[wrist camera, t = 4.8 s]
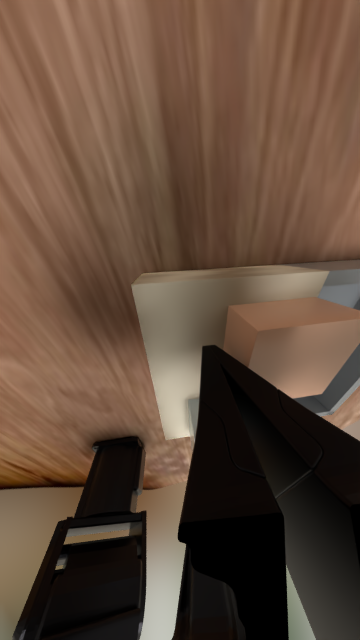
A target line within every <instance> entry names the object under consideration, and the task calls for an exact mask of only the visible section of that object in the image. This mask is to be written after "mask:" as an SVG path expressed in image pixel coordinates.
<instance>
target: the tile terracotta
mask: <svg viewBox="0 0 360 640" xmlns="http://www.w3.org/2000/svg"><path fill="white" fill-rule="evenodd" d="M359 343H360V310H356V309H353V308H350V307H346V306H343V305H340V304H337V303H333V302H330V301H327V300H324V299H320V298H317V297H308V298H298V299H289V300H279V301H269V302H260V303H250V304H240V305H231V306H228V314H227V322H226V331H225V339H224V347H223V350H224V351H225V352H227V353H228V354H229V355H231V356H232V357H234V358H235V359H237V360H238V361H239V362H241V363H242V364H244V365H245V366H247V367H248V368H249V369H251V370H252V371H254V372H255V373H257V374H258V375H259V376H261V377H262V378H264V379H265V380H267V381H268V382H269V383H271V384H272V385H274V386H275V387H276V388H277V389H280V390H281V391H282V392H284V393H285V394H287V395H288V396H290V397H291V398H299V397H306V396H312V395H318V394H322V393H323V392H324V390H325V389H326V388H327V386H328V385H329V384H330V382H331V381H332V380H333V378H334V377H335V376H336V374H337V373H338V372H339V370H340V369H341V368H342V366H343V365H344V363H345V362H346V361H347V359H348V358H349V357H350V355H351V354H352V353H353V351H354V350H355V349H356V347H357V346H358V345H359Z"/></svg>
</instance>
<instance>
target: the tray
mask: <svg viewBox="0 0 360 640" xmlns="http://www.w3.org/2000/svg"><path fill="white" fill-rule="evenodd" d="M281 265H284V266H293V267H301V268H309V269H318V270H326V271H330V272H329V274H328V276H327V278H326V280H325V282H324V284H323V286H322V289H321V291H320V293H319V295H318V297H317V298H320V299H324V300H327V301H330V302H333V303H337V304H340V305H343V306H346V307H350V308H353V309H356V310H360V259H358V260H343V261H327V262H312V263H296V264H281ZM359 385H360V343H359V345H358V346H357V347H356V349H355V350H354V351H353V353H352V354H351V355H350V357H349V358H348V359H347V361H346V362H345V363H344V365H343V366H342V368H341V369H340V370H339V372H338V373H337V374H336V376H335V377H334V378H333V380H332V381H331V382H330V384H329V385H328V386H327V388H326V389H325V390H324V392H323V393H322V394H318V395H312V396H306V397H299V398H293V399H294V400H296V401H297V402H298V403H300V404H301V405H303V406H304V407H306V408H307V409H309V410H311V411H312V412H314V413H315V414H317V415H319V416H325V415H331V414H333V413H334V412H335V411H336V410H337V409H338V408H339V407H340V406H341V405H342V403H343V402H344V401H345V400H346V399H347V398H348V397H349V396H350V395H351V394H352V393H353V392H354V391H355V390H356V389H357V387H358V386H359Z"/></svg>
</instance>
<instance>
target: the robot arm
mask: <svg viewBox="0 0 360 640" xmlns="http://www.w3.org/2000/svg"><path fill="white" fill-rule="evenodd" d="M92 449H93V450H94V452H95V453H96V454H95V457H94V460H93V463H92V466H91V469H90V472H89V475H88V478H87V480H86V483H85V486H84V489H83V492H82V495H81V498H80V501H79V504H78V507H77V510H76V513H75V516H74V518H73V517H67V519H66V520H63V521H59V522H58V524H57V526H56V529H55V531H54V534H53V536H52V539H51V541H50V544H49V547H48V549H47V552H46V554H45V557H44V559H43V562H42V564H41V567H40V569H39V571H38V574H37V576H36V579H35V581H34V584H33V586H32V589H31V591H30V594H29V596H28V599H27V601H26V604H25V606H24V609H23V612H22V614H21V617H20V619H19V621H18V624H17V626H16V629H15V631H14V634H13V640H139V639H140V635H141V631H142V625H143V618H144V609H145V599H146V598H145V597H146V511H141V512H139V513H136V505H137V496H138V495H140V494H141V493H142V487H143V477H144V466H145V455H146V453H145V451H144V449H143V447H142V445H141V443H140V441H139V438H137V437H133V438H127V439H120V440H113V441H107V442H100V443H94V444H93V446H92ZM127 529H130V531H129V536H125V537H118V538H110V539H103V540H95V541H88V542H81V543H73V544H66V545H63V544H64V541H65V538H66V537H69V536H77V535H86V534H93V533H101V532H111V531H119V530H127ZM178 540H179V541H180V542H182V543H185V544H186V550H185V558H184V565H183V572H182V580H181V588H180V595H179V603H178V610H177V618H176V626H175V631H174V636H173V638H172V640H289V639H288V638H289V637H288V609H287V583H286V565H287V568H288V570H289V573H290V575H291V578H292V580H293V583H294V585H295V588H296V590H297V593H298V595H299V598H300V600H301V603H302V605H303V608H304V610H305V613H306V615H307V618H308V621H309V623H310V626H311V628H312V630H313V633H314V635H315V638H316V640H360V441H359V440H357V439H355V438H354V437H352V436H351V435H349V434H347V433H346V432H344V431H343V430H341V429H339V428H338V427H336V426H335V425H333V424H331V423H330V422H328V421H326V420H325V419H323V418H322V417H320V416H319V415H317V414H315V413H314V412H312V411H311V410H309V409H307V408H306V407H304V406H303V405H301V404H300V403H298V402H297V401H296V400H294V399H293V398H291V397H290V396H288V395H287V394H285V393H284V392H282V391H281V390H280V389H277V388H276V387H275V386H274V385H272V384H271V383H269V382H268V381H267V380H265V379H264V378H262V377H261V376H259V375H258V374H257V373H255V372H254V371H252V370H251V369H249V368H248V367H247V366H245V365H244V364H242V363H241V362H239V361H238V360H237V359H235V358H234V357H232V356H231V355H229V354H228V353H227V352H225V351H224V350H222V349H221V348H219V347H218V346H217V345H206V346H202V356H201V374H200V392H199V409H198V420H197V429H196V435H195V442H194V447H193V453H192V458H191V464H190V469H189V475H188V480H187V486H186V491H185V497H184V502H183V508H182V513H181V518H180V523H179V529H178ZM59 565H64V566H63V568H62V569H59V570H55V568H56V566H59Z"/></svg>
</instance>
